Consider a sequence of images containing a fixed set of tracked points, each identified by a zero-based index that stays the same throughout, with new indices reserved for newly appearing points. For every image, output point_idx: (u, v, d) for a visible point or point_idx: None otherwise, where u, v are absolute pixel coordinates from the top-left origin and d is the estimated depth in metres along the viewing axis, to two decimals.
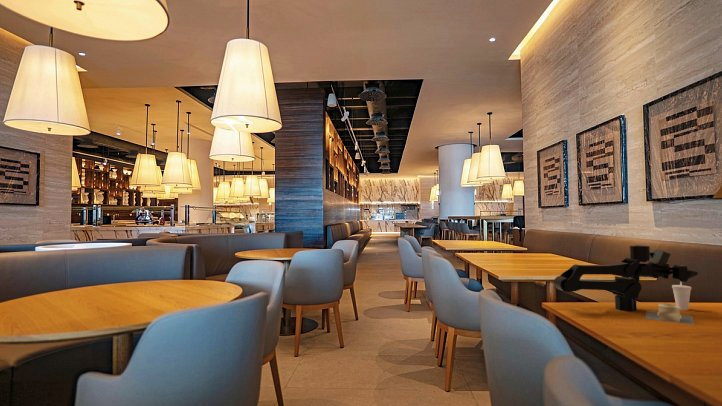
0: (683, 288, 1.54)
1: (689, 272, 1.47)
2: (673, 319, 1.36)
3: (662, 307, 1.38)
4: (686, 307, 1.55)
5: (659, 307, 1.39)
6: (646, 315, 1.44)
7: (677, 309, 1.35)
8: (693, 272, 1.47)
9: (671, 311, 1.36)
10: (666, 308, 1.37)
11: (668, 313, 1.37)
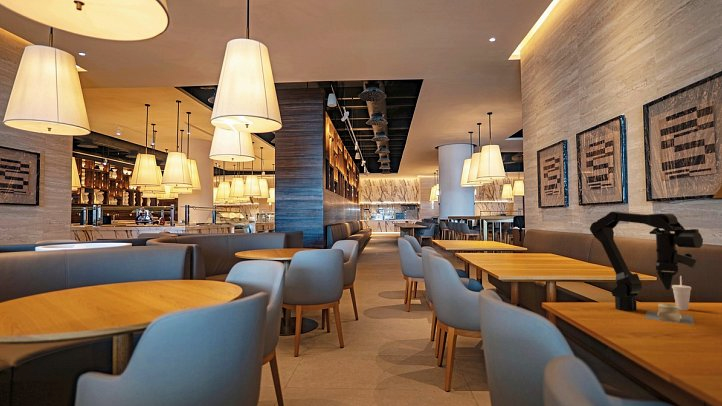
0: (683, 288, 1.54)
1: (668, 279, 1.35)
2: (673, 319, 1.36)
3: (662, 307, 1.38)
4: (686, 307, 1.55)
5: (659, 307, 1.39)
6: (646, 315, 1.44)
7: (677, 309, 1.35)
8: (668, 284, 1.35)
9: (671, 311, 1.36)
10: (666, 308, 1.37)
11: (668, 313, 1.37)
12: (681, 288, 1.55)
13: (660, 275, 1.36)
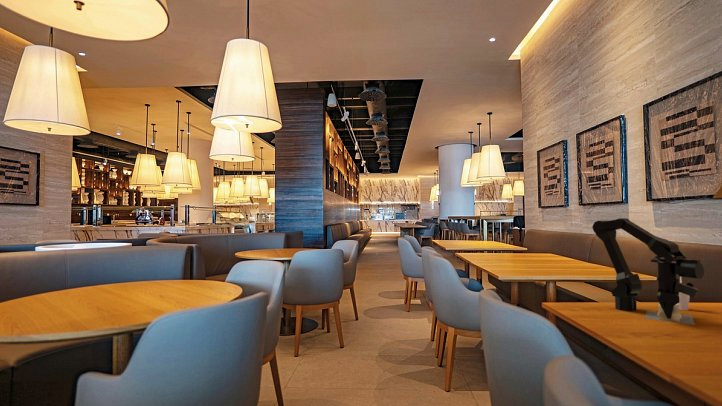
0: None
1: (669, 308, 1.36)
2: (673, 319, 1.36)
3: None
4: (686, 307, 1.55)
5: (659, 307, 1.39)
6: (646, 315, 1.44)
7: (677, 309, 1.35)
8: (670, 313, 1.36)
9: None
10: None
11: None
12: None
13: (661, 304, 1.37)
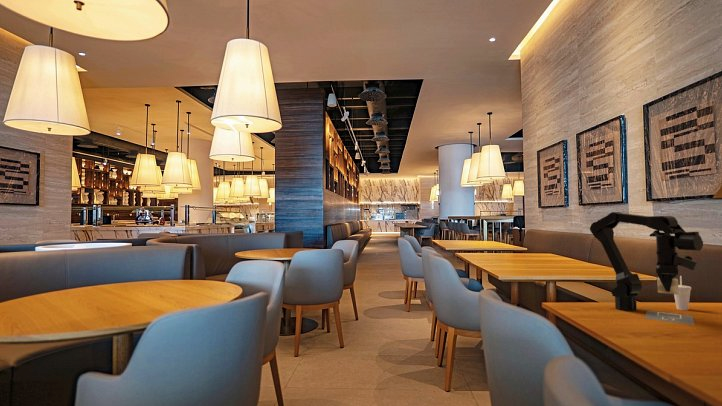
0: (683, 288, 1.54)
1: (668, 281, 1.36)
2: (672, 292, 1.36)
3: None
4: (686, 307, 1.55)
5: (658, 280, 1.39)
6: (646, 315, 1.44)
7: (676, 282, 1.36)
8: (668, 286, 1.36)
9: None
10: None
11: None
12: (681, 288, 1.55)
13: (660, 277, 1.37)
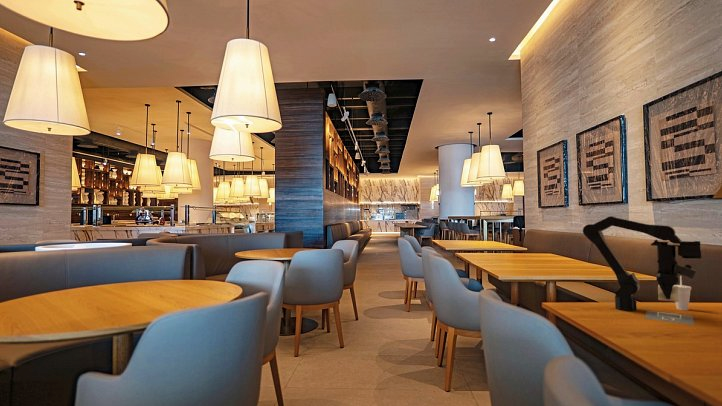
0: (683, 288, 1.54)
1: (668, 289, 1.41)
2: (672, 299, 1.41)
3: None
4: (686, 307, 1.55)
5: (659, 288, 1.44)
6: (646, 315, 1.44)
7: (676, 290, 1.41)
8: (669, 293, 1.41)
9: None
10: None
11: None
12: (681, 288, 1.55)
13: (661, 285, 1.42)
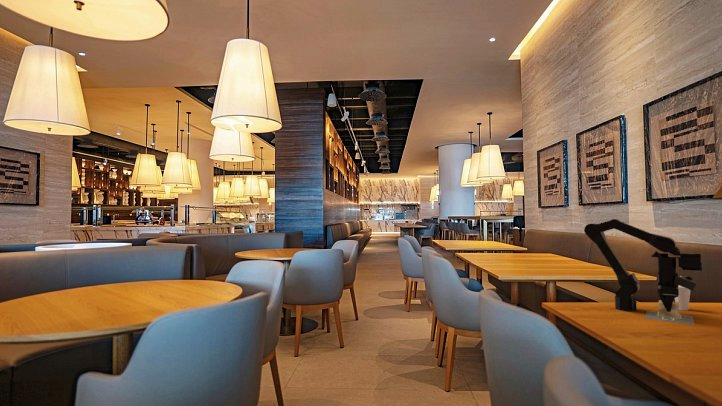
0: (683, 288, 1.54)
1: (669, 301, 1.40)
2: (673, 315, 1.41)
3: (662, 304, 1.43)
4: (686, 307, 1.55)
5: (659, 304, 1.44)
6: (646, 315, 1.44)
7: (677, 306, 1.40)
8: (669, 306, 1.40)
9: None
10: None
11: None
12: (681, 288, 1.55)
13: (661, 298, 1.41)
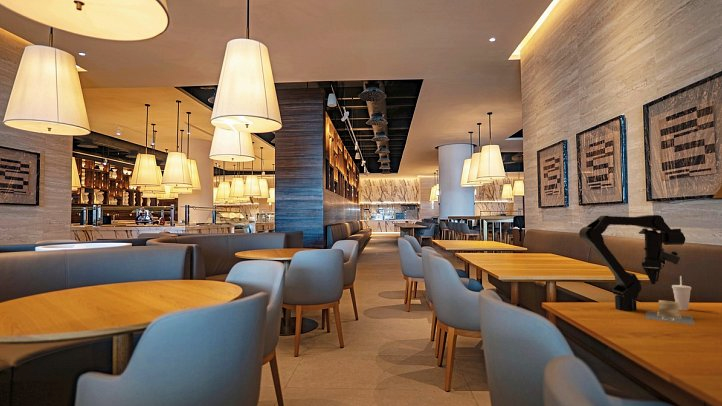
0: (683, 288, 1.54)
1: (653, 274, 1.48)
2: (673, 315, 1.41)
3: (662, 304, 1.43)
4: (686, 307, 1.55)
5: (659, 304, 1.44)
6: (646, 315, 1.44)
7: (677, 306, 1.40)
8: (654, 279, 1.49)
9: (671, 307, 1.42)
10: (666, 305, 1.42)
11: (668, 310, 1.42)
12: (681, 288, 1.55)
13: (646, 271, 1.50)
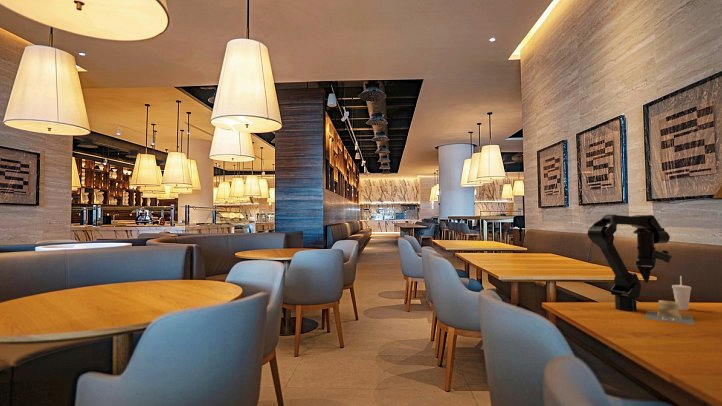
0: (683, 288, 1.54)
1: (647, 273, 1.53)
2: (673, 315, 1.41)
3: (662, 304, 1.43)
4: (686, 307, 1.55)
5: (659, 304, 1.44)
6: (646, 315, 1.44)
7: (677, 306, 1.40)
8: (647, 277, 1.53)
9: (671, 307, 1.42)
10: (666, 305, 1.42)
11: (668, 310, 1.42)
12: (681, 288, 1.55)
13: (640, 269, 1.54)
